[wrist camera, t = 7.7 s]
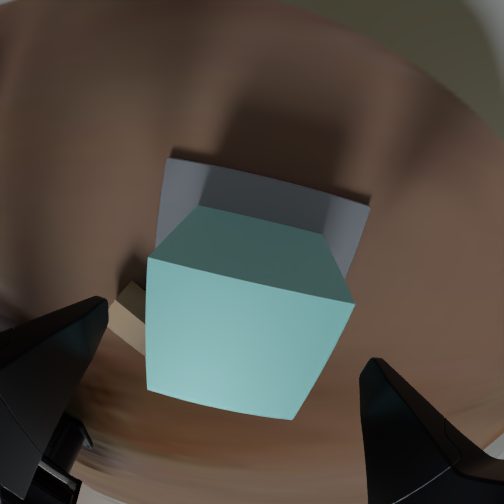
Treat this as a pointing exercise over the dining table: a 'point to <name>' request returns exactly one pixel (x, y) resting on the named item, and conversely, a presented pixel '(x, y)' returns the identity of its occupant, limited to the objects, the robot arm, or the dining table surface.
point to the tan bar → (130, 316)
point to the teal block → (242, 313)
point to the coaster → (260, 204)
